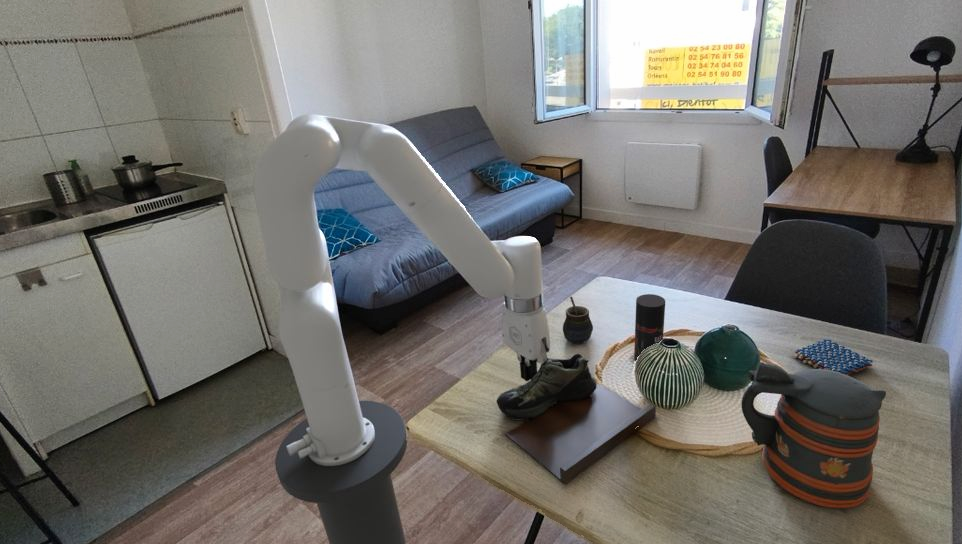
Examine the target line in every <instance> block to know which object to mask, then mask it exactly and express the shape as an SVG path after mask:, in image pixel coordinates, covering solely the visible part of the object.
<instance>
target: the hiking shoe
mask: <svg viewBox="0 0 962 544" xmlns="http://www.w3.org/2000/svg"><path fill="white" fill-rule="evenodd" d="M547 359H548V361H547V362H545V363H543V364H541V363H540V367H539V369H537V373H536V375H534V376H533V377H532V379H530V380H529V381H527V382H525V383H524V384H521V385H517V386H514V387H513V388H511V389H509V390H506V391H504V392H502V393H500V394H499V395H498V397H497V398H496V404H497V406H498V407H497V408H499V410H500V412H501V413H502V414H503V415H505V417H508V418H510V419H512V420H514V421H524V420H525V421H526V420H528V419H530V418H534V417H538V416H540V415H541V414H542V413H543V412H545V411H546V410H547V409H548V408H549V407H550V406H551V405H553V404H554V403H556V402H559V401H575V400H579V399H583V398H586V397H588V396H590V395H591V394H592V393H593V392H594V391H595V389H596V383H597V381H596V380H595V379H594V377H593V376H592V373H591V371H590V368H589V364H588V363H589V362H590V359H587V358H586V356H584V355H582V354H581V353H575V354H573V355H572V356H571V357H570V358H550V357H547Z"/></svg>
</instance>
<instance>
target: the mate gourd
mask: <svg viewBox="0 0 962 544" xmlns="http://www.w3.org/2000/svg"><path fill="white" fill-rule="evenodd" d="M569 299H570V302H571V304H572V306H570V307H568V308H567V309H566V310H565V319H564V321H563V324H562V333H563V336H564V338H565V340H566V341H567V342H568V343H571V344H574V345H582V344H585V343H586V342H588V341H589V340H590V339H591V337H592V333H593V331H594V325H593V322H592V320H591V317H590V310H589V309H588V308H587V307H585V306H582V305H576V304H575V301H574V298H573V296H569Z"/></svg>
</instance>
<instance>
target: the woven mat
mask: <svg viewBox="0 0 962 544" xmlns="http://www.w3.org/2000/svg"><path fill="white" fill-rule="evenodd" d="M794 353H795V355H793V358H794V359H796V358H798V359H800V360H802V363H803V364H808V365H811V366H813V369H824V370H831V371H835V372H839V373H842V374H845V375H848V376H850V375H851V374H855V373H857V372H860V371H862V370H864V369H866V368H868V367H873V362H874V360H872V359H869V358H868V357H867V356H866V355H862V354H860V353H859V352H855V351H853V349H850V348H848V347H846V346H845V345H842V344H839V342H835V341H833V340H831V339H830V338H827V339H823V340H821V341H817V342H815V343H812V344H810V345H807V346H804V347H802V348H798V349H796V350H795V351H794Z"/></svg>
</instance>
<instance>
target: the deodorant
mask: <svg viewBox="0 0 962 544" xmlns="http://www.w3.org/2000/svg"><path fill="white" fill-rule="evenodd" d="M665 314H666V299H665V298H664V297H662V296H661V295H659V294H652V293H646V294H640V295H639V296H637V297H636V299H635V319H634V321H635V322H634V323H635V324H634V347H633V348H634V351H633V352H634V353H633V360H634V362H636V360H637V357H638V356H639V355H640V354H641V352H642V351H643V350H644V349H646V348H647V347H649V346H651V345H653V344H656V343H659V342H660V341H661V340H663V341H664V330H665V329H664V328H665V327H664V326H665Z"/></svg>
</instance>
